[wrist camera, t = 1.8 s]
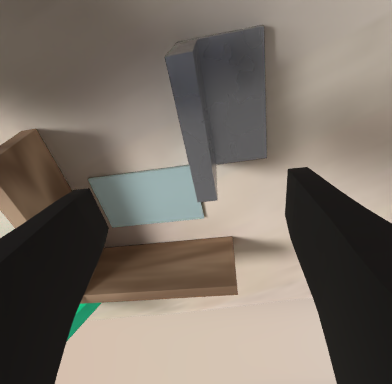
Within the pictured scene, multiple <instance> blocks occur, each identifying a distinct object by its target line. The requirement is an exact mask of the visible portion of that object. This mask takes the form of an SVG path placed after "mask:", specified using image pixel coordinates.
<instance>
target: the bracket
mask: <svg viewBox="0 0 392 384" xmlns="http://www.w3.org/2000/svg"><path fill="white" fill-rule="evenodd" d="M165 60H166V65H167V69H168V74H169V78H170V82H171V87H172V91H173V96H174V100H175V105H176V109H177V113H178V118H179V122H180V127H181V131H182V135H183V140H184V144H185V149H186V153H187V158H188V162H189V166H190V171H191V175H192V180H193V184H194V189H195V193H196V197H197V202H206V201H215V200H217V171H216V164H224V163H232V162H239V161H247V160H254V159H262V158H267V146H266V97H265V49H264V26H263V25H259V26H254V27H249V28H244V29H239V30H234V31H229V32H224V33H220V34H215V35H210V36H205V37H200V38H195V39H190V40H185V41H181V42H177V43H176V44H175V45H174V46H173V48H172V49H171V50H170V51H169V52H168V54H167V55H166V56H165Z"/></svg>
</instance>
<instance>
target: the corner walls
mask: <svg viewBox="0 0 392 384" xmlns="http://www.w3.org/2000/svg"><path fill="white" fill-rule="evenodd" d="M70 192H72V190H71V189H70V187H69V185H68V183H67V182H66V180H65V178H64V176H63V175H62V173H61V171H60V169H59V168H58V166H57V164H56V163H55V161H54V159H53V157H52V156H51V154H50V152H49V150H48V149H47V147H46V145H45V143H44V142H43V140H42V138H41V136H40V135H39V133H38V131H37V130H36V129H32V130H26V131H21V132H19V133H18V134H17V135H15V136H14V137H12V138H11V139H9V140H8V141H6V142H5V143H3V144H2V145H0V210H1V212H2V213H3V214H4V215H5V216H6V218H7V219H8V220H9V221H10V223H11V224H12V225H13V226H14V227H15V229H16V228H17V227H19V226H20V225H22V224H23V223H25V222H26V221H27V220H29V219H30V218H32V217H33V216H35V215H36V214H38V213H39V212H41V211H42V210H44V209H45V208H46V207H48V206H49V205H51V204H52V203H54V202H55V201H57V200H58V199H60V198H61V197H63V196H65V195H66V194H68V193H70ZM223 295H238V291H237V280H236V269H235V258H234V247H233V239H232V237H221V238H210V239H199V240H187V241H176V242H165V243H154V244H143V245H132V246H121V247H110V248H103V251H102V254H101V256H100V258H99V261H98V263H97V266H96V268H95V270H94V273H93V275H92V277H91V279H90V282H89V284H88V286H87V289H86V291H85V293H84V295H83V298H82V300H81V302H80V304H83V303H101V302H118V301H136V300H153V299H171V298H188V297H206V296H223Z"/></svg>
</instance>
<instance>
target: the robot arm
mask: <svg viewBox="0 0 392 384" xmlns="http://www.w3.org/2000/svg"><path fill="white" fill-rule="evenodd" d="M285 217H286V221H287V225H288V230H289V234H290V238H291V241H292V244H293V247H294V249H295V252H296V255H297V257H298V260H299V262H300V265H301V268H302V270H303V273H304V276H305V278H306V281H307V283H308V286H309V289H310V291H311V294H312V296H313V299H314V302H315V305H316V308H317V311H318V314H319V318H320V321H321V325H322V329H323V332H324V336H325V339H326V343H327V347H328V351H329V355H330V359H331V362H332V366H333V370H334V374H335V378H336V381H337V384H392V223H390V222H388V221H386V220H385V219H383V218H382V217H380V216H378V215H377V214H375V213H373V212H372V211H370V210H368V209H367V208H365V207H364V206H362V205H361V204H359V203H357V202H356V201H354V200H353V199H351V198H350V197H348V196H347V195H346V194H344V193H343V192H341V191H340V190H338V189H337V188H336V187H334V186H333V185H331V184H330V183H329V182H327V181H326V180H324V179H323V178H322V177H320V176H319V175H318V174H316V173H315V172H313V171H312V170H311V169H309V168H308V167H303V168H293V169H288V176H287V192H286V208H285ZM108 229H109V228H108V226H107V224H106V221H105V219H104V217H103V215H102V213H101V211H100V209H99V207H98V205H97V203H96V201H95V199H94V197H93V195H92V193H91V191H90V189H80V190H74V191H72V192H70V193H68V194H66V195H65V196H63V197H61V198H60V199H58V200H57V201H55V202H54V203H52V204H51V205H49V206H48V207H46V208H45V209H44V210H42V211H41V212H39V213H38V214H36V215H35V216H33V217H32V218H30V219H29V220H27V221H26V222H25V223H23V224H22V225H20V226H19V227H17V228H16V229H14V230H13V231H11V232H9V233H8V234H6V235H5V236H3V237H2V238H0V384H55V380H56V376H57V372H58V369H59V366H60V362H61V358H62V355H63V352H64V348H65V345H66V342H67V339H68V336H69V332H70V329H71V326H72V323H73V320H74V317H75V315H76V312H77V310H78V307H79V305H80V302H81V300H82V298H83V295H84V293H85V291H86V289H87V286H88V284H89V282H90V279H91V277H92V275H93V273H94V270H95V268H96V266H97V263H98V261H99V258H100V256H101V254H102V251H103V248H104V244H105V241H106V237H107V233H108Z"/></svg>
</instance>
